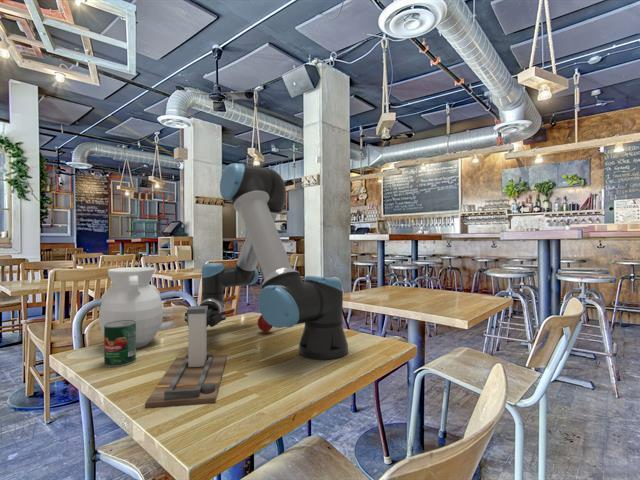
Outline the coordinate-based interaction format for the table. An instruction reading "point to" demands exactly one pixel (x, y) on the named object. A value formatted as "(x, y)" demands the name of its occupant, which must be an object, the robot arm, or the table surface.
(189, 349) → the grey rectangular block
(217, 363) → the brown board with rails
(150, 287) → the pitcher
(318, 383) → the table surface
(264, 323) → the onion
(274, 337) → the table surface
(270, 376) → the table surface
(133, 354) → the canned tomato
